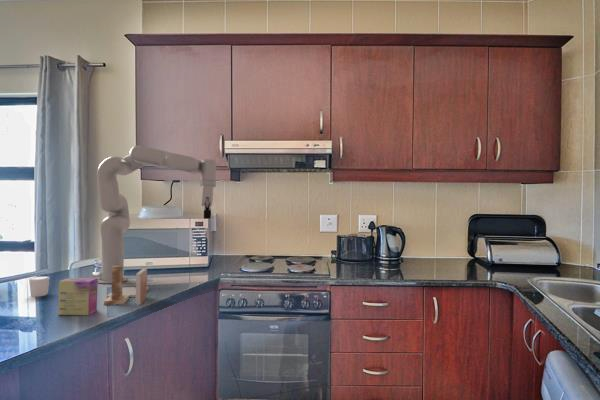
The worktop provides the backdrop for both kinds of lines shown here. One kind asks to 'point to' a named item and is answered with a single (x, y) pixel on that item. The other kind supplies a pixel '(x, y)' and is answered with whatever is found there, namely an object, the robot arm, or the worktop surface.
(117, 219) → the robot arm
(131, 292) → the rest pad
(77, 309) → the box
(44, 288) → the white cup
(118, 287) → the masher
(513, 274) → the worktop surface
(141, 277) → the tile
